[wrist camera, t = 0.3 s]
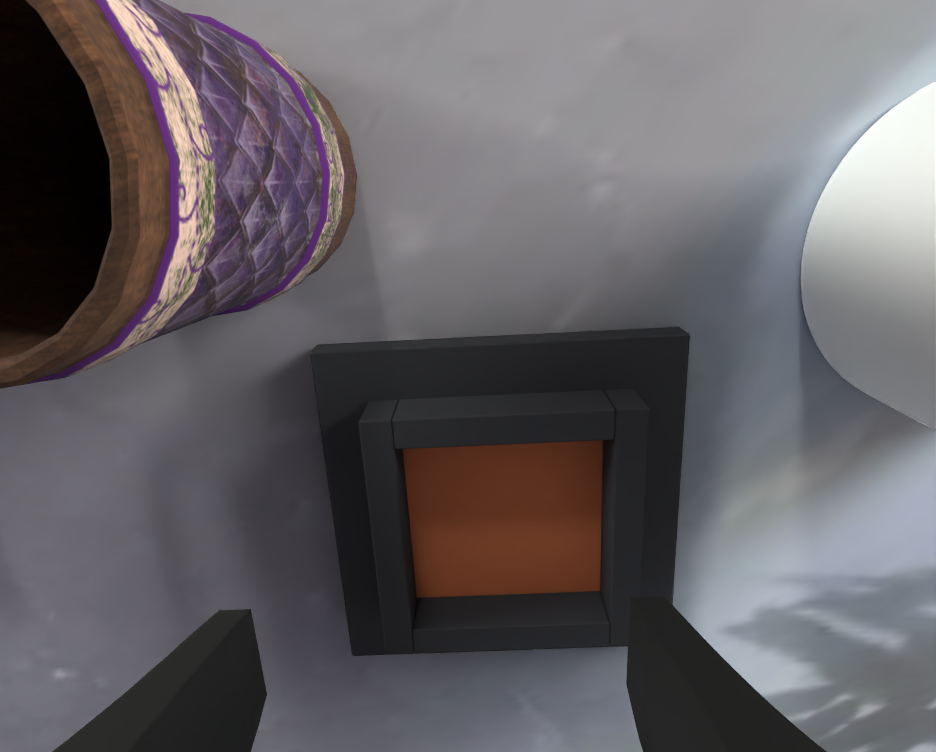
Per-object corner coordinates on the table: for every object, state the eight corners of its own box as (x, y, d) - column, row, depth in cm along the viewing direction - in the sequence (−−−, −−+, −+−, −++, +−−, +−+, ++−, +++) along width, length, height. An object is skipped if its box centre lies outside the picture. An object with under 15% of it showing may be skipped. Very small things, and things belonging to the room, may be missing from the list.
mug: (313, 12, 17) (-40, -366, 5) (393, 256, 19) (266, 369, 7) (-7, 122, 18) (-894, 7, 6) (102, 343, 20) (-410, 562, 8)
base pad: (662, 626, 23) (687, 684, 20) (356, 637, 23) (341, 695, 21) (680, 326, 19) (713, 348, 17) (316, 344, 20) (292, 369, 17)
